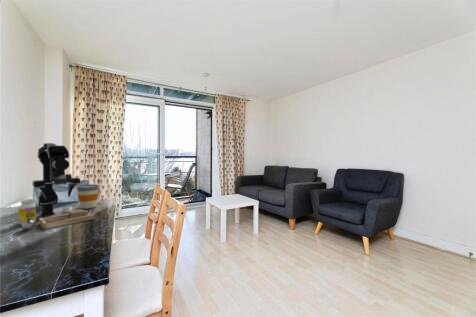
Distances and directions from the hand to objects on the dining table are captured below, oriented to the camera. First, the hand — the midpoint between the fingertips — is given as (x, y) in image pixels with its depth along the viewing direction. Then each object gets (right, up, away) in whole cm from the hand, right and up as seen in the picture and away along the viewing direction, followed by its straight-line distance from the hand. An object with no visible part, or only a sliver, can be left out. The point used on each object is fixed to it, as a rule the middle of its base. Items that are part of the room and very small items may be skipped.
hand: (58, 198), depth 111 cm
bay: (0, -14, +7) cm, 16 cm away
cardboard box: (+2, -15, +10) cm, 18 cm away
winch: (-10, -15, -5) cm, 19 cm away
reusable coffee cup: (-10, -13, +37) cm, 40 cm away
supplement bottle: (-19, -15, +3) cm, 24 cm away
